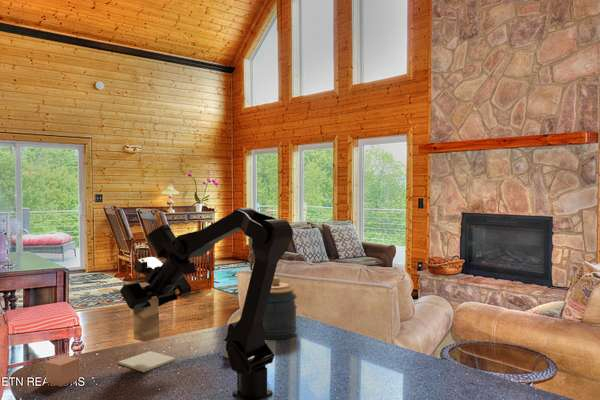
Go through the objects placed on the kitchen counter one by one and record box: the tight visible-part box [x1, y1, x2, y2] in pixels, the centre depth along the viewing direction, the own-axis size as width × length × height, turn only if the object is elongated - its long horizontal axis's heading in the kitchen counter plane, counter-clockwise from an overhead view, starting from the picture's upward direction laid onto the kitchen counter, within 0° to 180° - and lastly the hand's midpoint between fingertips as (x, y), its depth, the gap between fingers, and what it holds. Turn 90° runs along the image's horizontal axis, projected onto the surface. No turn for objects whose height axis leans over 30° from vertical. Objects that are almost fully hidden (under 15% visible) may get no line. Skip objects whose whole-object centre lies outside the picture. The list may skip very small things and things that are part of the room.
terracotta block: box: [45, 355, 80, 387], centre depth 116 cm, size 5×5×5 cm
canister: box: [263, 276, 298, 341], centre depth 152 cm, size 13×13×18 cm
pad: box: [118, 350, 176, 373], centre depth 128 cm, size 10×10×1 cm
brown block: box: [132, 281, 160, 343], centre depth 128 cm, size 5×5×14 cm
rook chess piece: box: [222, 325, 229, 360], centre depth 133 cm, size 4×4×8 cm
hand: (142, 310), depth 128 cm, fingers closed on brown block, 4 cm apart
